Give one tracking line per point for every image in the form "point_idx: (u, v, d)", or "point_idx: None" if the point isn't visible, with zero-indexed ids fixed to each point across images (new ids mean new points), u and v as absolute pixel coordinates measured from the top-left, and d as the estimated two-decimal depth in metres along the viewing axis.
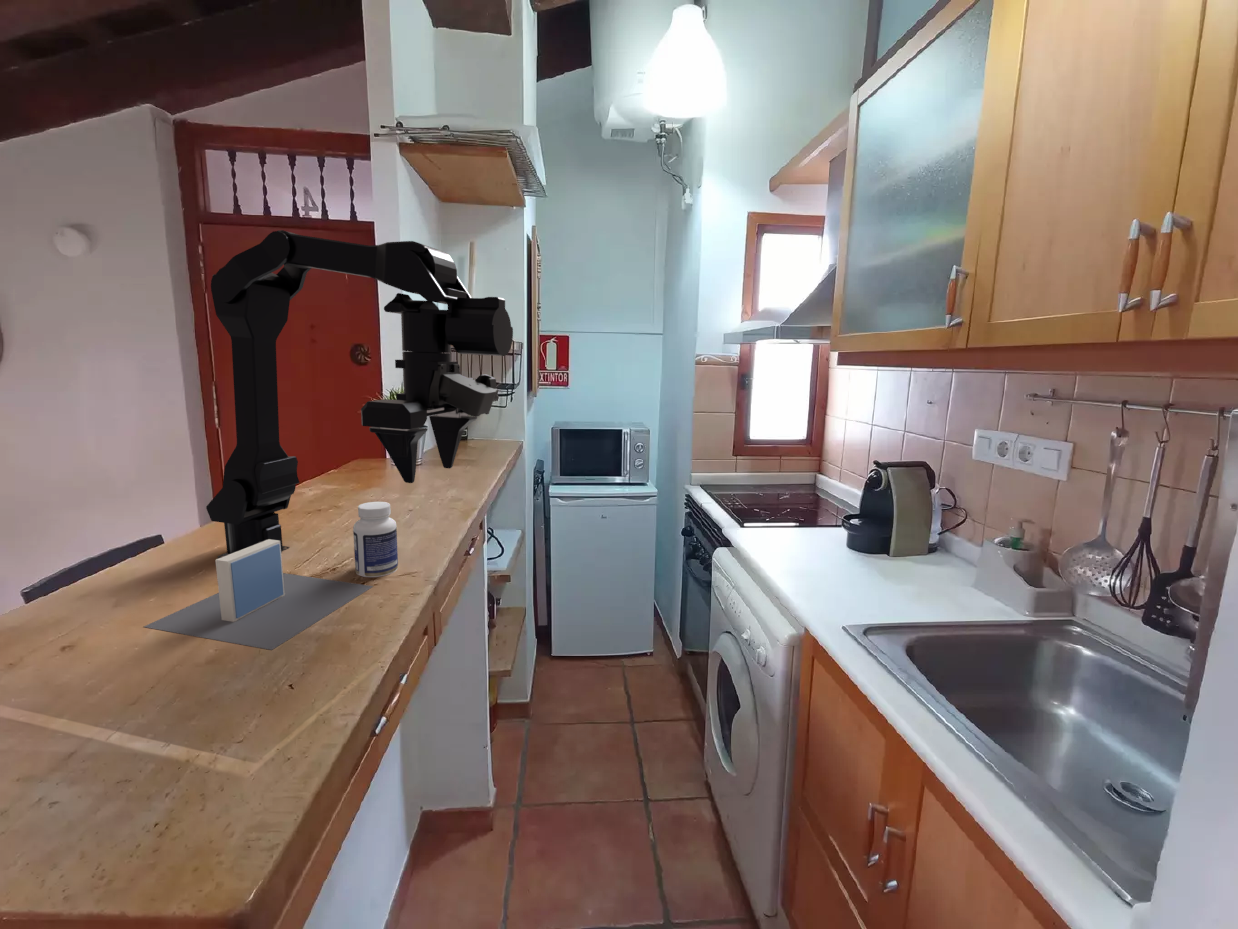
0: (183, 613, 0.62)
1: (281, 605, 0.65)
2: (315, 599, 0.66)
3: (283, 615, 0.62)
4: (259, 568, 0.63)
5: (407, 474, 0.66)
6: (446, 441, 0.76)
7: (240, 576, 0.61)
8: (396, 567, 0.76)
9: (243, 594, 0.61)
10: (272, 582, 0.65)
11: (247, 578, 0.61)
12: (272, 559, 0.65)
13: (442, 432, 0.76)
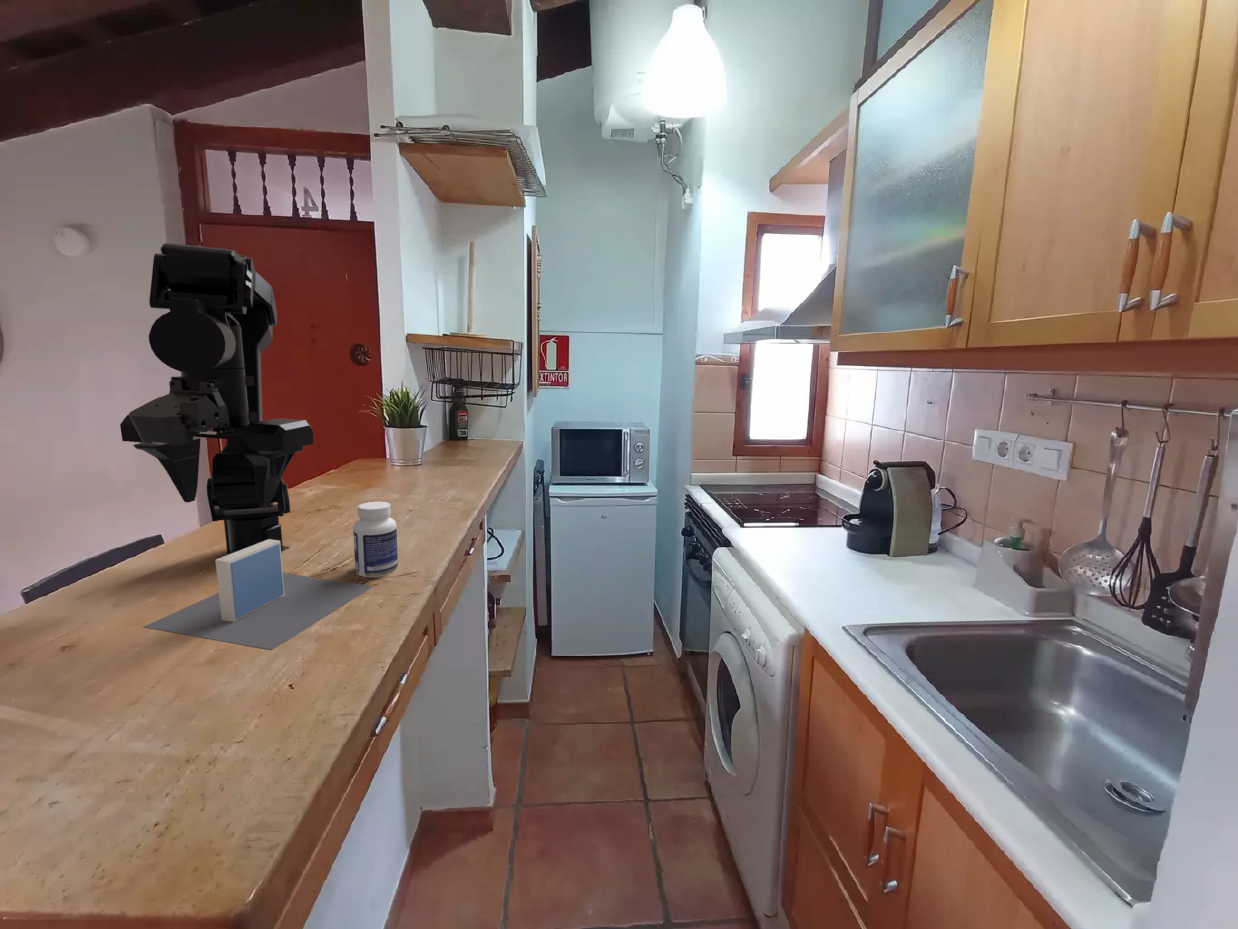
0: (183, 613, 0.62)
1: (281, 605, 0.65)
2: (315, 599, 0.66)
3: (283, 615, 0.62)
4: (259, 568, 0.63)
5: None
6: None
7: (240, 576, 0.61)
8: (396, 567, 0.76)
9: (243, 594, 0.61)
10: (272, 582, 0.65)
11: (247, 578, 0.61)
12: (272, 559, 0.65)
13: None
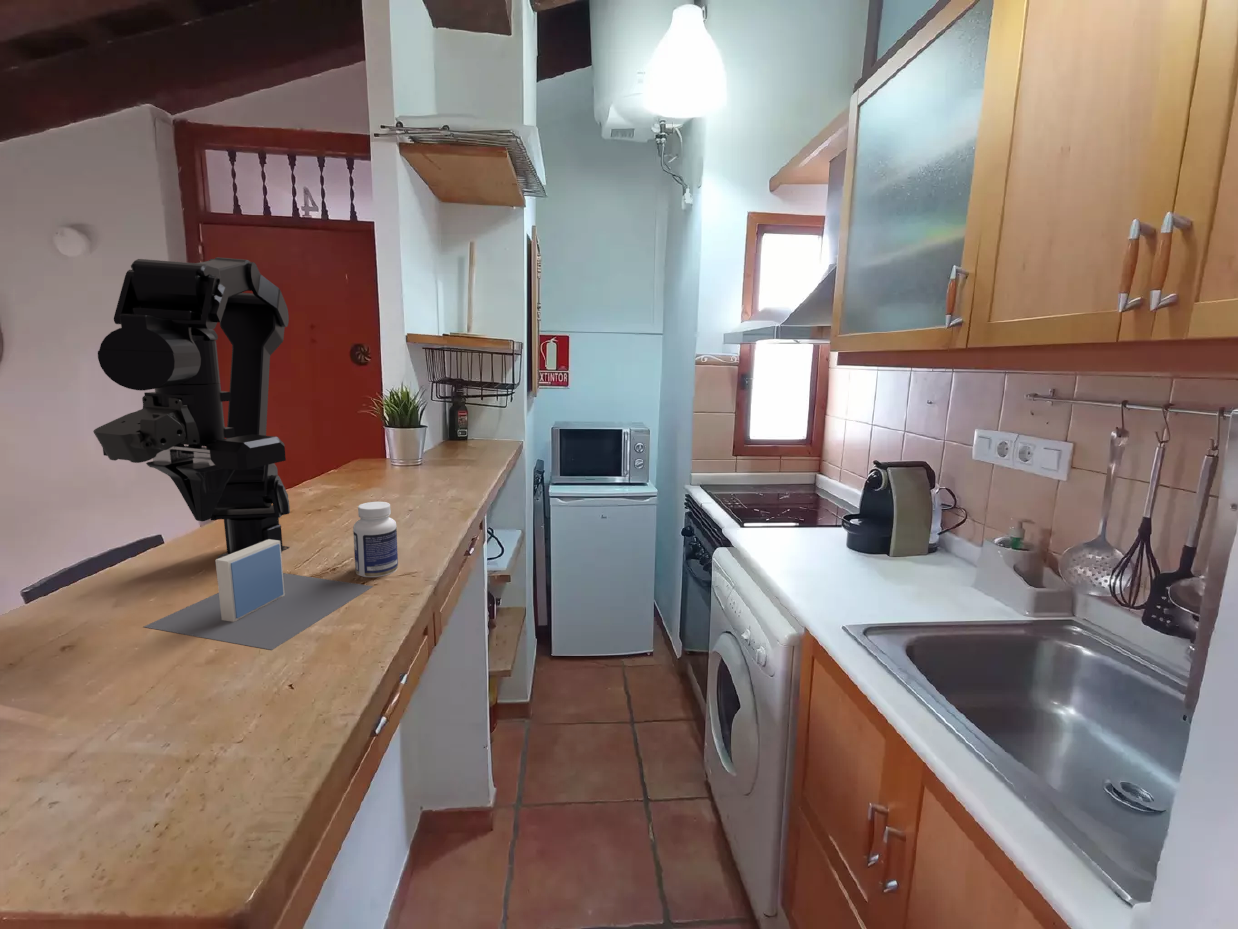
0: (183, 613, 0.62)
1: (281, 605, 0.65)
2: (315, 599, 0.66)
3: (283, 615, 0.62)
4: (259, 568, 0.63)
5: None
6: None
7: (240, 576, 0.61)
8: (396, 567, 0.76)
9: (243, 594, 0.61)
10: (272, 582, 0.65)
11: (247, 578, 0.61)
12: (272, 559, 0.65)
13: None
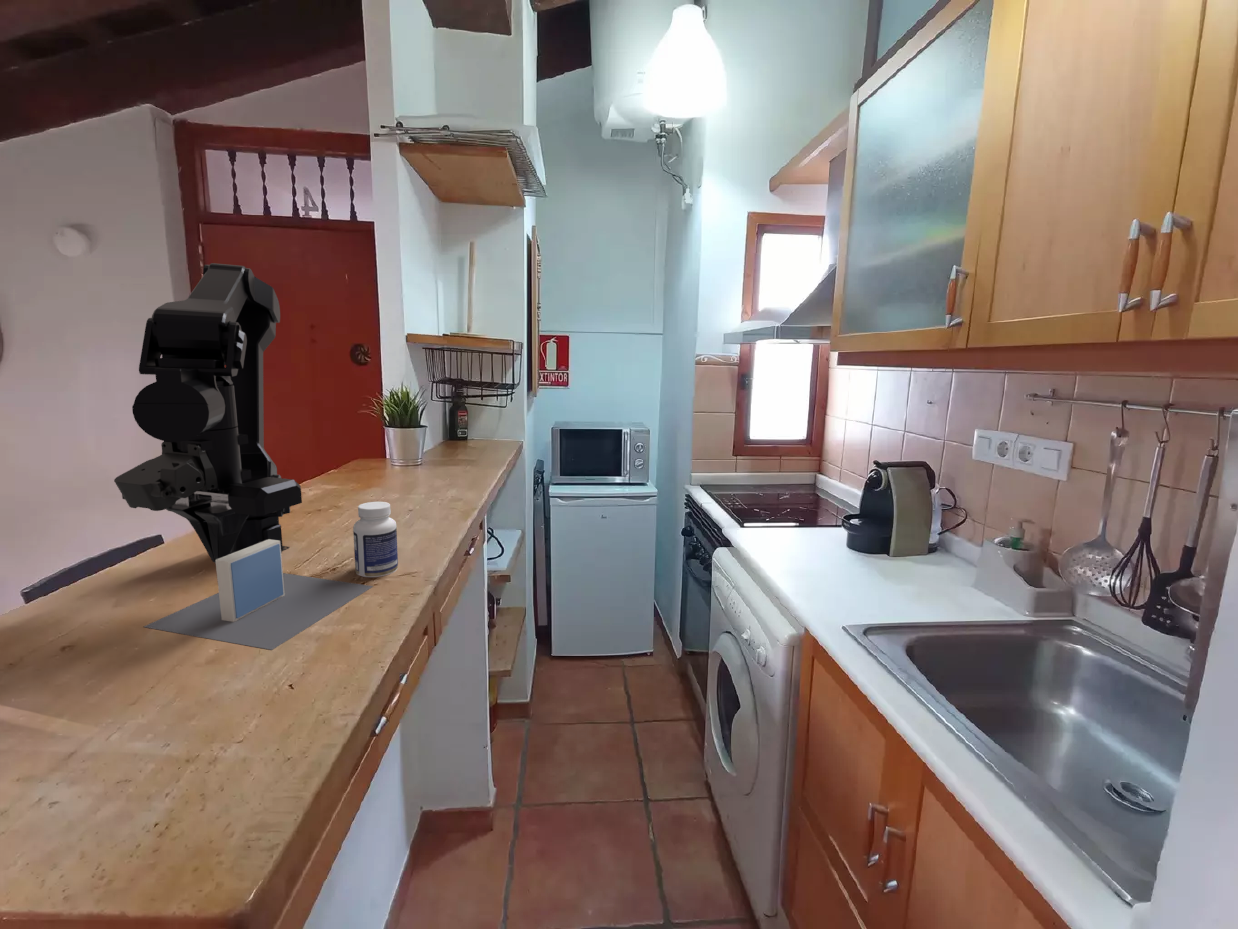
0: (183, 613, 0.62)
1: (281, 605, 0.65)
2: (315, 599, 0.66)
3: (283, 615, 0.62)
4: (259, 568, 0.63)
5: None
6: None
7: (240, 576, 0.61)
8: (396, 567, 0.76)
9: (243, 594, 0.61)
10: (272, 582, 0.65)
11: (247, 578, 0.61)
12: (272, 559, 0.65)
13: None
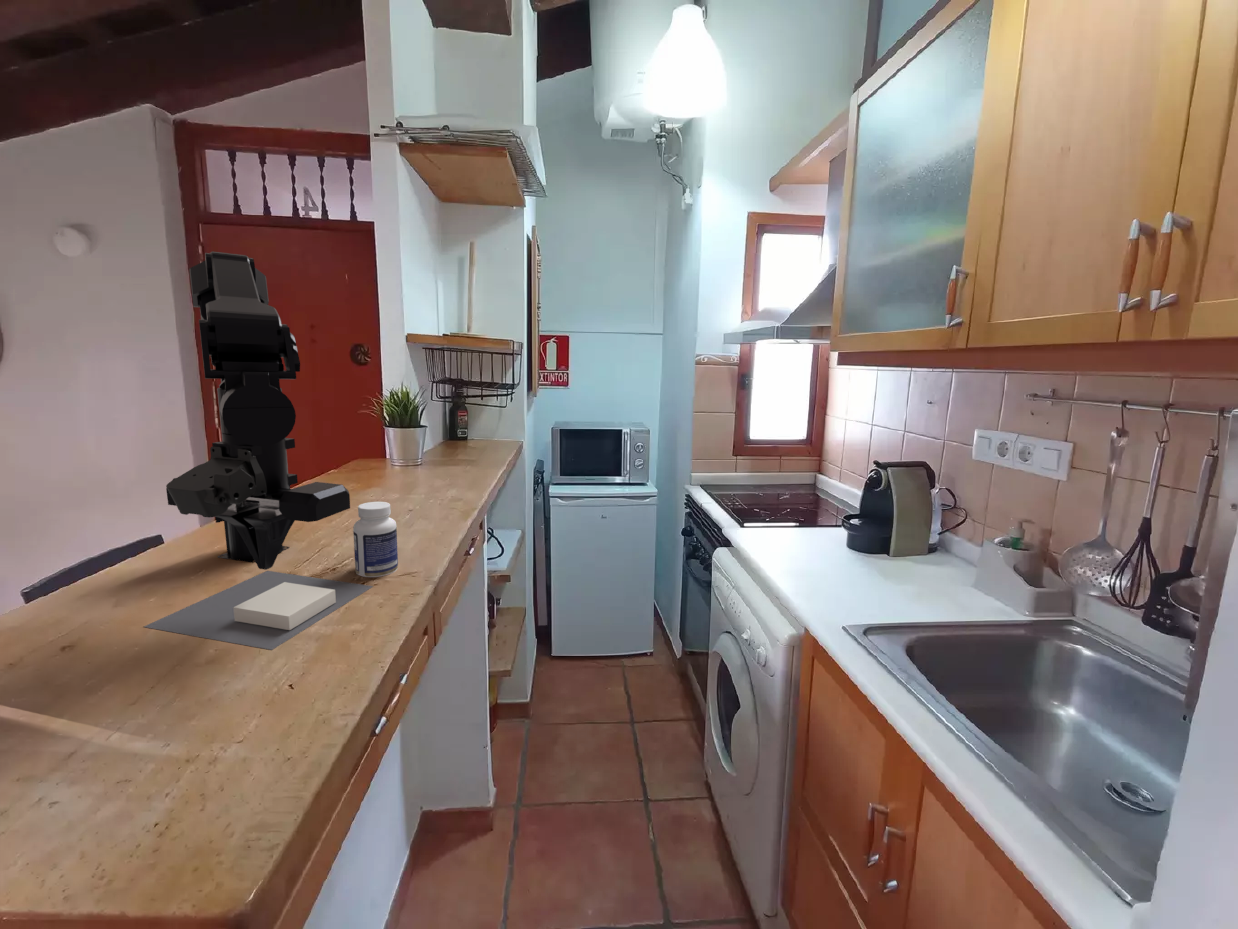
0: (183, 613, 0.62)
1: None
2: None
3: None
4: None
5: None
6: None
7: None
8: (396, 567, 0.76)
9: None
10: None
11: None
12: None
13: None
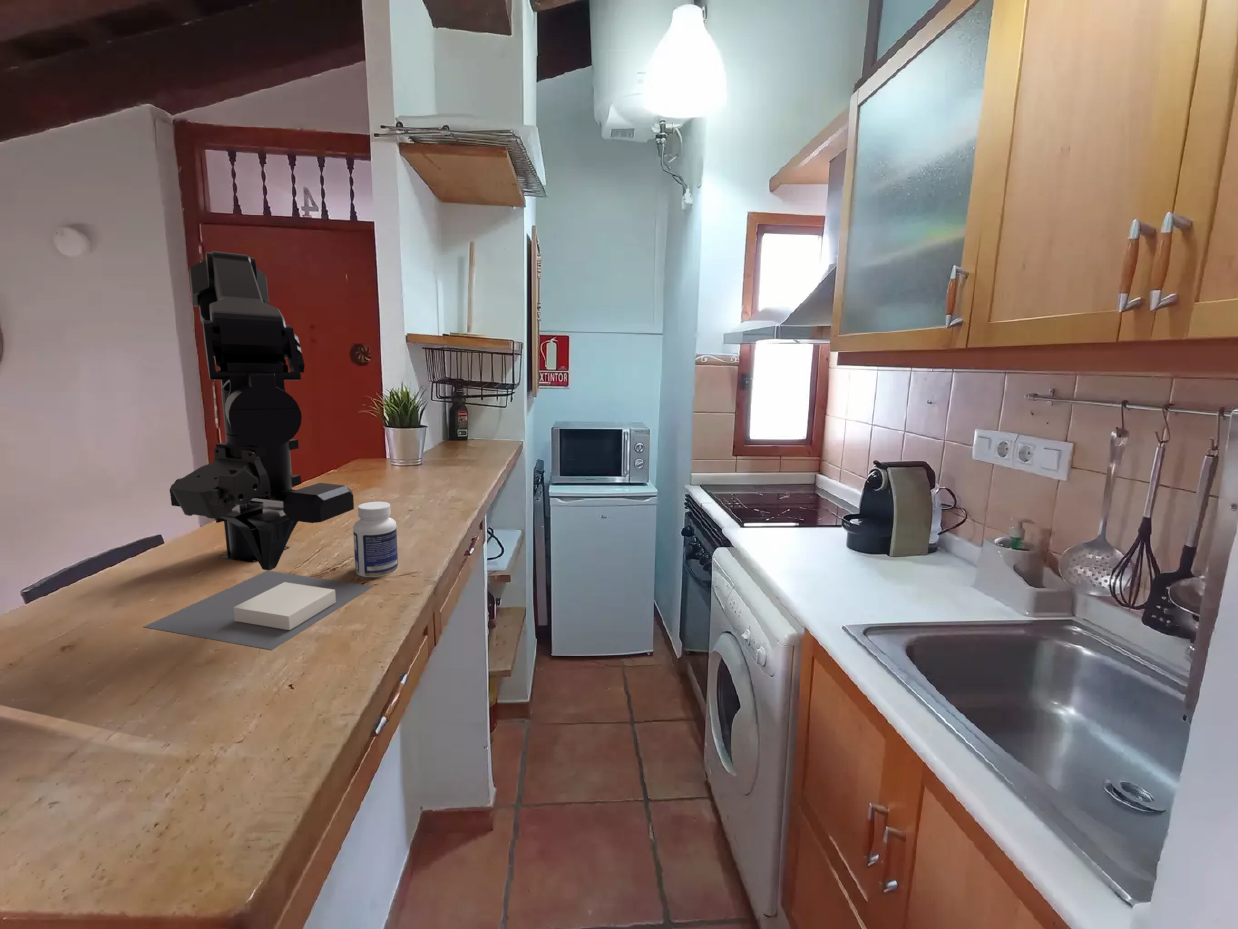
0: (183, 613, 0.62)
1: None
2: None
3: None
4: None
5: None
6: None
7: None
8: (396, 567, 0.76)
9: None
10: None
11: None
12: None
13: None
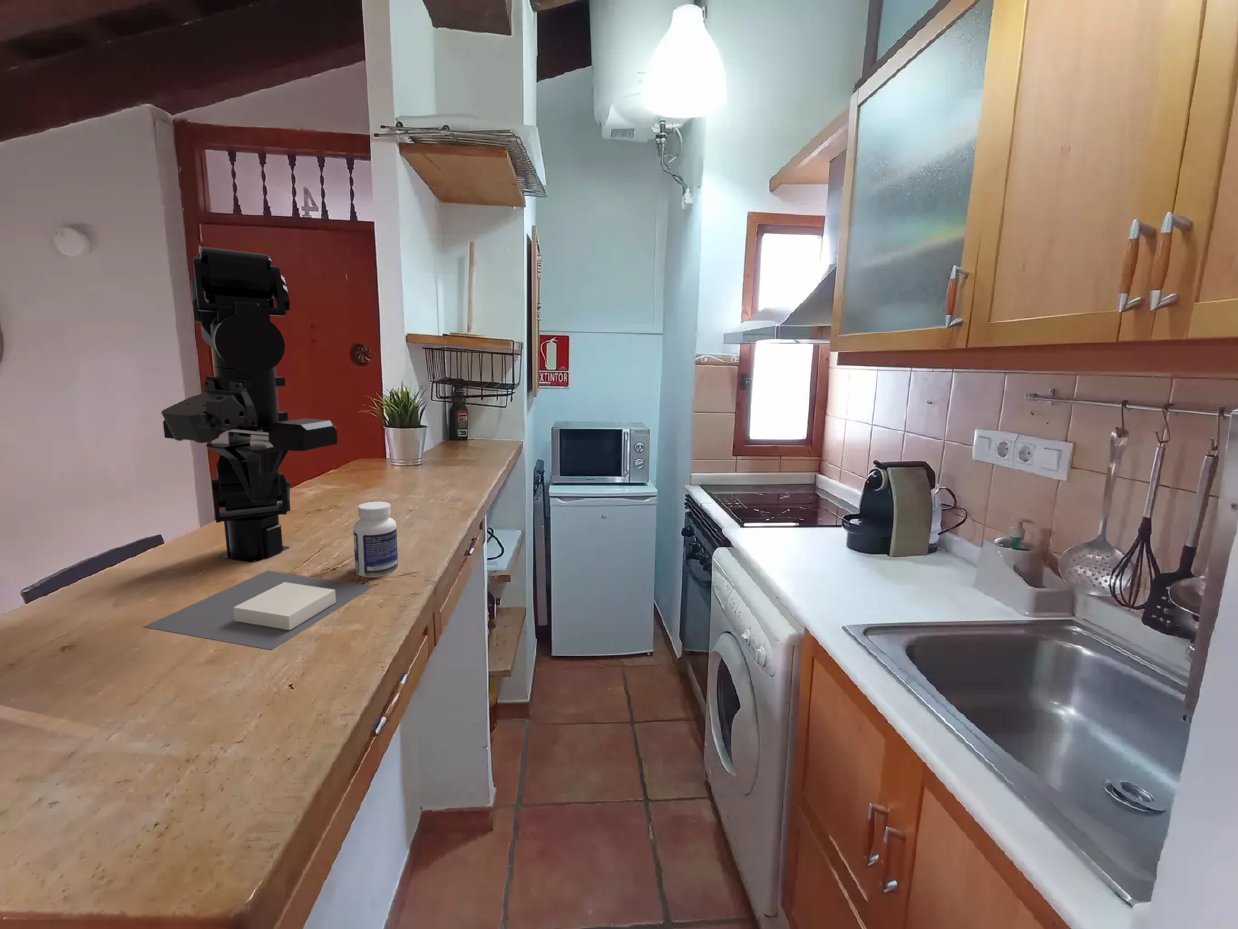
0: (183, 613, 0.62)
1: None
2: None
3: None
4: None
5: None
6: None
7: None
8: (396, 567, 0.76)
9: None
10: None
11: None
12: None
13: None
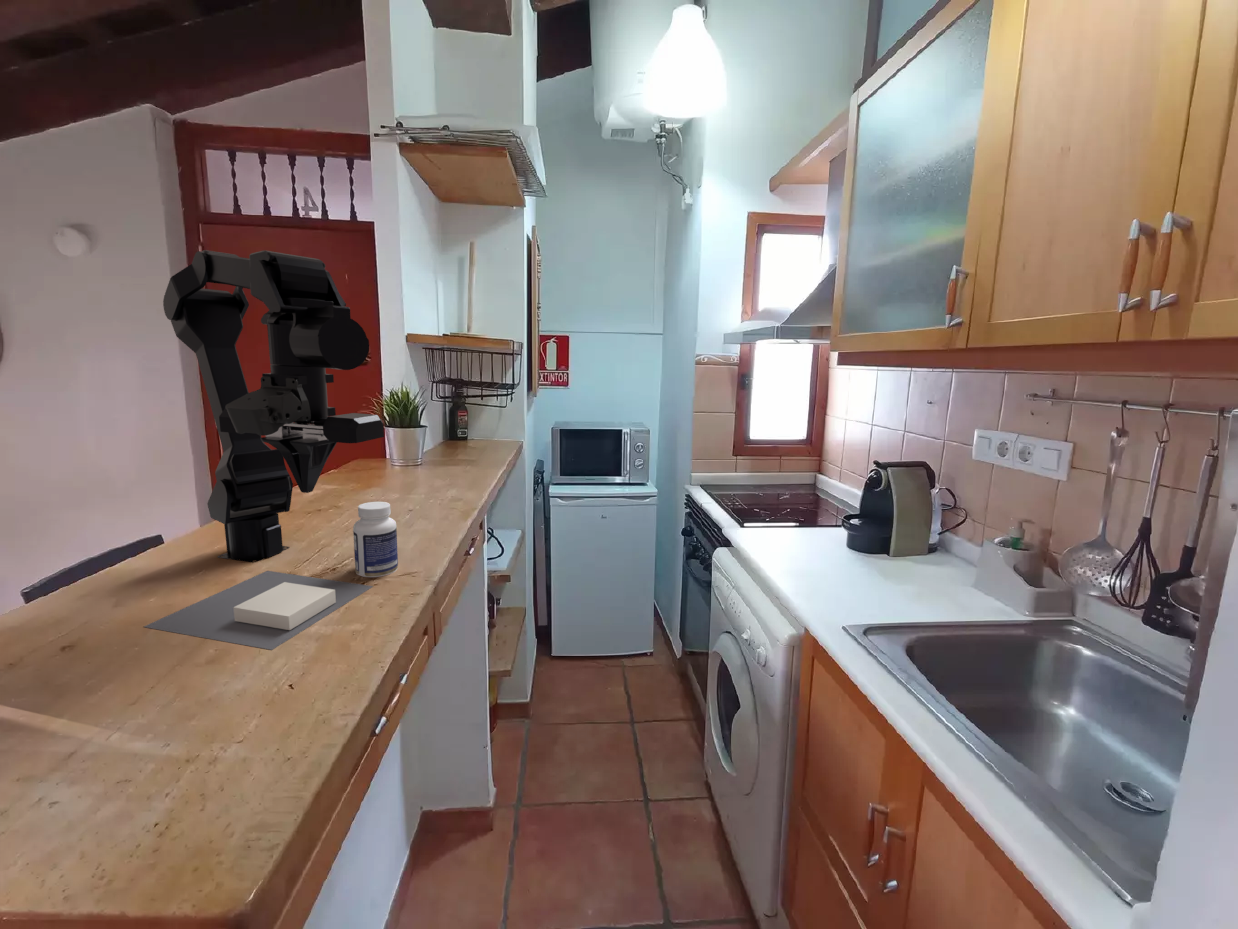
0: (183, 613, 0.62)
1: None
2: None
3: None
4: None
5: None
6: None
7: None
8: (396, 567, 0.76)
9: None
10: None
11: None
12: None
13: None
